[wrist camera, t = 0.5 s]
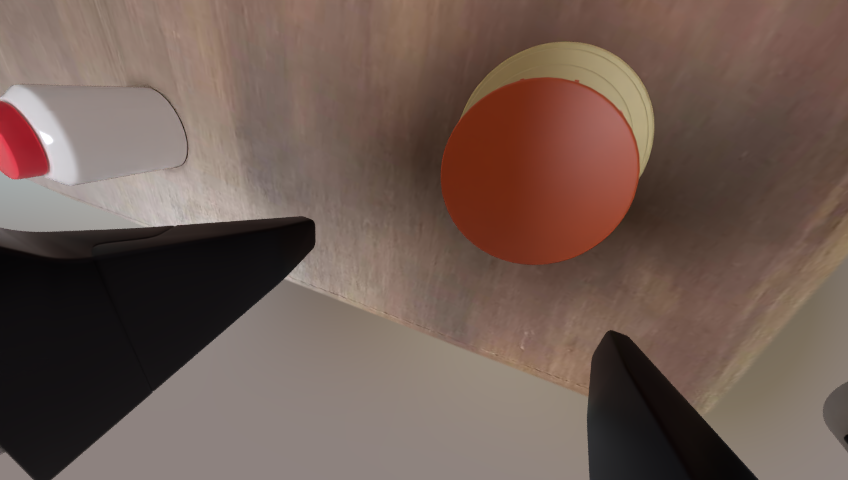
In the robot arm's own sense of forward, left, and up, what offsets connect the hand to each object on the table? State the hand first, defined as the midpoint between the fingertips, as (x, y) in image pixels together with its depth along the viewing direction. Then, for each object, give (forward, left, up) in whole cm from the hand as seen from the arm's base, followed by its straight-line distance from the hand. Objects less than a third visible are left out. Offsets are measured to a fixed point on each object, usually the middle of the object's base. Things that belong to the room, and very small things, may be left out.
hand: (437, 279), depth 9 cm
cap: (0, -4, -3) cm, 5 cm away
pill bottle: (+31, +17, -13) cm, 38 cm away
